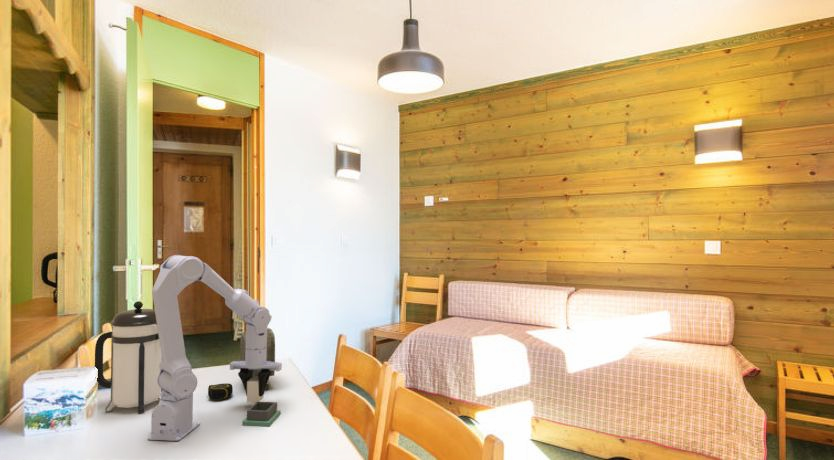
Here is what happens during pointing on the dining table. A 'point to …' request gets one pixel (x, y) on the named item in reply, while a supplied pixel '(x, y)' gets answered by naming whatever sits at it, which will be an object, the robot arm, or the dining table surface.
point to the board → (261, 414)
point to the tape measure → (220, 391)
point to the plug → (253, 390)
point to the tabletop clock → (269, 355)
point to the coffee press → (132, 359)
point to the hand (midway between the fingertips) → (255, 394)
